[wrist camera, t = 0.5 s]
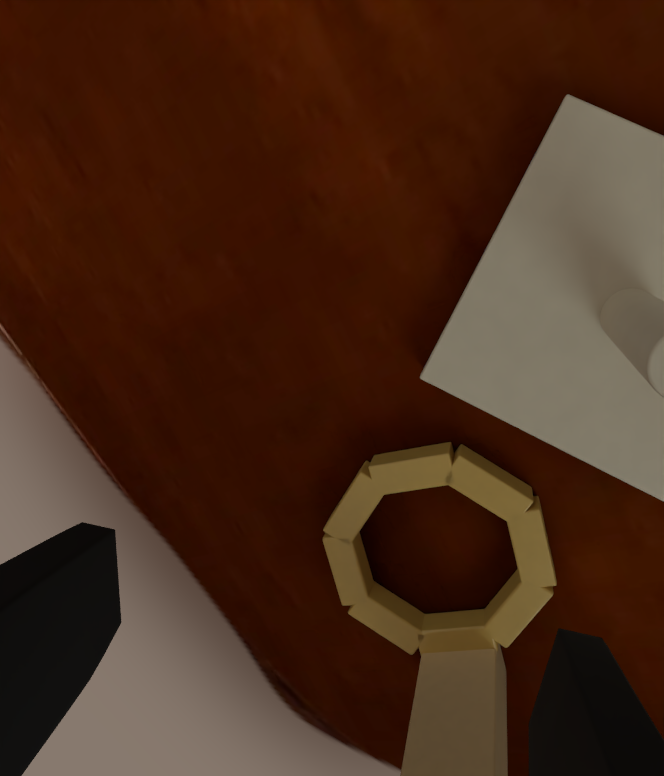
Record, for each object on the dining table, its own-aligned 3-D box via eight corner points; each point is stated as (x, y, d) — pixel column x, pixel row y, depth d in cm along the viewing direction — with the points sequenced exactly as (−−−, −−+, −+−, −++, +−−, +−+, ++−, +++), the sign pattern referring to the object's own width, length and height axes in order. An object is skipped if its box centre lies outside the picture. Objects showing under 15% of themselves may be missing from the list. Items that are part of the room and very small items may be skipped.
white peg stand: (674, 496, 18) (764, 645, 12) (422, 369, 19) (385, 447, 13) (870, 234, 15) (1122, 251, 9) (562, 99, 16) (602, 30, 10)
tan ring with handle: (576, 666, 20) (605, 843, 14) (374, 677, 22) (332, 835, 16) (523, 428, 18) (533, 524, 13) (311, 465, 20) (240, 561, 15)
